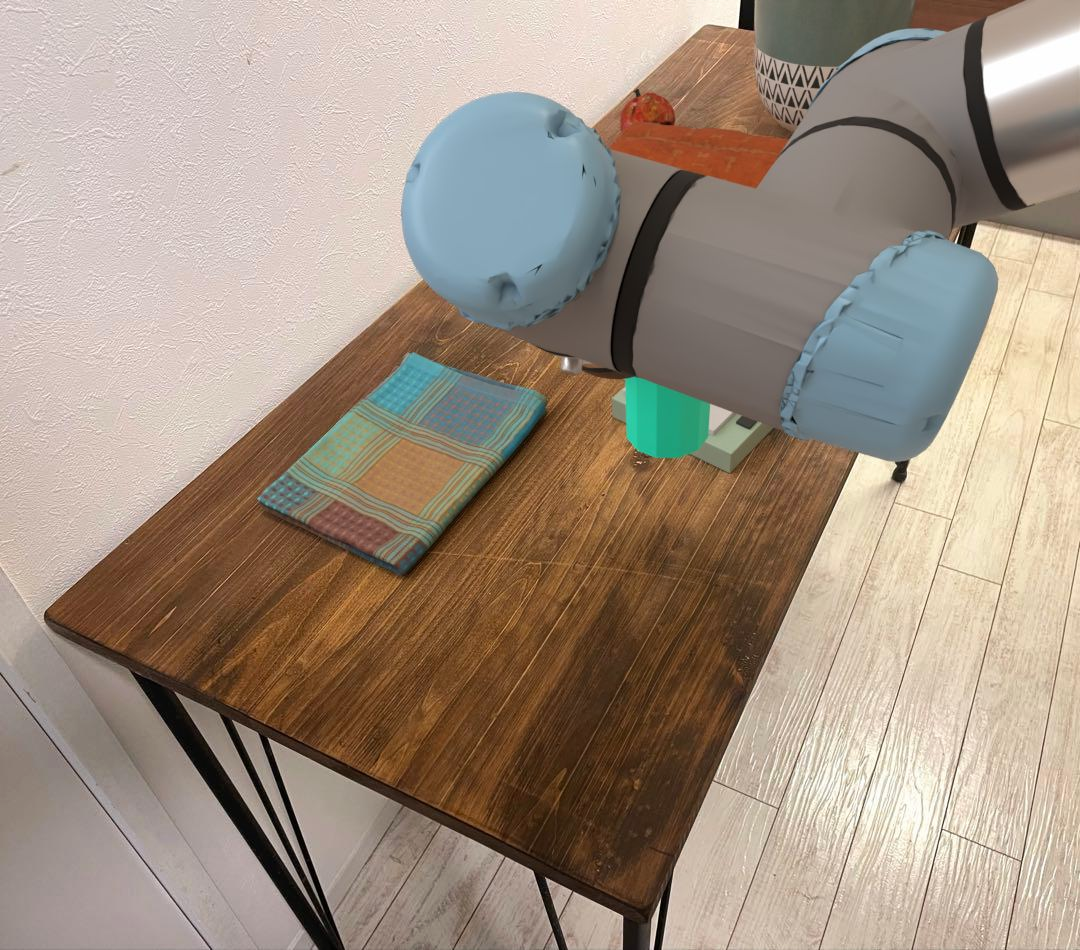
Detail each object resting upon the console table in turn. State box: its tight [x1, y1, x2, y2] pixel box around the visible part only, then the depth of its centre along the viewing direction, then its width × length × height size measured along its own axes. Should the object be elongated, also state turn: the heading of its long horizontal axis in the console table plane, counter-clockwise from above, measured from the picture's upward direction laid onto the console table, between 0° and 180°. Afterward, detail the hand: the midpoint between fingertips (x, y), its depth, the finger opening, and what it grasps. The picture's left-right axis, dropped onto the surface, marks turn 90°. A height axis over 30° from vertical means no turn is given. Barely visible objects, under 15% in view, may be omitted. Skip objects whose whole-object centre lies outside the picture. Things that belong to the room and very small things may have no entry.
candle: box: [624, 377, 710, 459], centre depth 62 cm, size 6×6×12 cm
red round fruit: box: [619, 88, 676, 133], centre depth 124 cm, size 7×7×10 cm
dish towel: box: [257, 352, 549, 577], centre depth 84 cm, size 17×23×2 cm
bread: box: [608, 121, 790, 189], centre depth 106 cm, size 16×27×11 cm, turn 64°
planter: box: [753, 0, 918, 134], centre depth 118 cm, size 20×20×21 cm
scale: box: [611, 386, 775, 474], centre depth 86 cm, size 13×13×3 cm
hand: (680, 360), depth 66 cm, fingers closed on candle, 5 cm apart
